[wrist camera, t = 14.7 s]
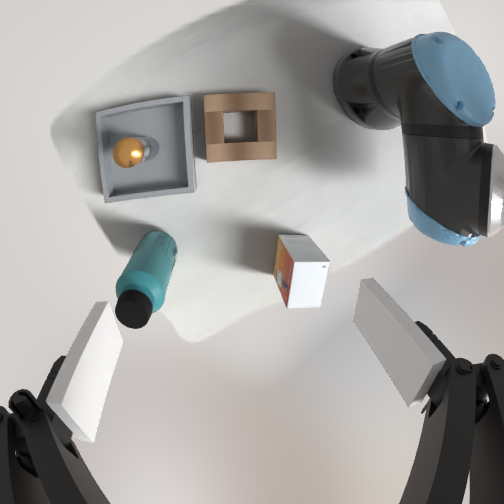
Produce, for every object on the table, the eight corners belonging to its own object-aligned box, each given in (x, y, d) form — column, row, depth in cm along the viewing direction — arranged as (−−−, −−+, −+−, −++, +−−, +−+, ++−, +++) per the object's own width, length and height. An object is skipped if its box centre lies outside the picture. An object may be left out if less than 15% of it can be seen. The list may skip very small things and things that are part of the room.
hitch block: (270, 95, 37) (274, 92, 34) (272, 157, 41) (276, 159, 38) (204, 98, 36) (203, 95, 33) (207, 160, 40) (206, 162, 37)
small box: (277, 233, 46) (293, 260, 37) (308, 234, 47) (331, 260, 37) (272, 275, 49) (285, 309, 40) (302, 275, 50) (320, 308, 41)
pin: (158, 135, 36) (139, 135, 27) (160, 158, 38) (143, 165, 28) (135, 139, 36) (111, 140, 27) (137, 161, 38) (114, 170, 28)
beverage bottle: (136, 233, 43) (91, 298, 25) (171, 220, 43) (142, 282, 25) (151, 267, 46) (120, 344, 28) (185, 255, 46) (170, 332, 28)
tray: (191, 99, 36) (188, 95, 32) (196, 187, 41) (194, 192, 38) (105, 113, 34) (95, 112, 31) (113, 197, 40) (104, 203, 36)
